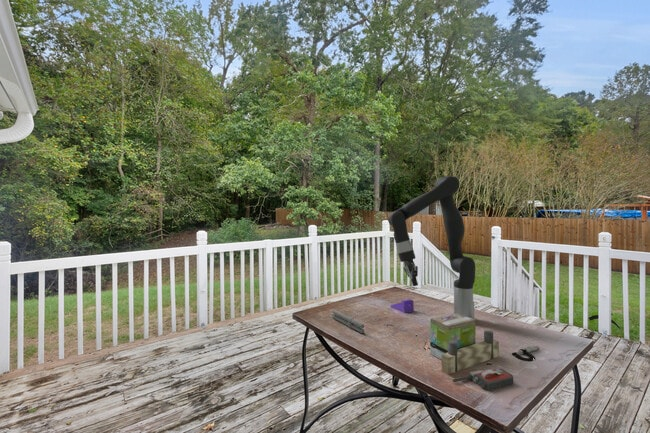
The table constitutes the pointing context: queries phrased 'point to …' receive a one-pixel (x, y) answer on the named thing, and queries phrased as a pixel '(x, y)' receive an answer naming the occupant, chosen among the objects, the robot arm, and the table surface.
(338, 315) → the metal rod assembly
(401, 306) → the bracket
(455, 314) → the tea box
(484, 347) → the bench stop
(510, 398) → the table surface
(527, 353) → the micrometer
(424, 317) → the table surface
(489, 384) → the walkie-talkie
